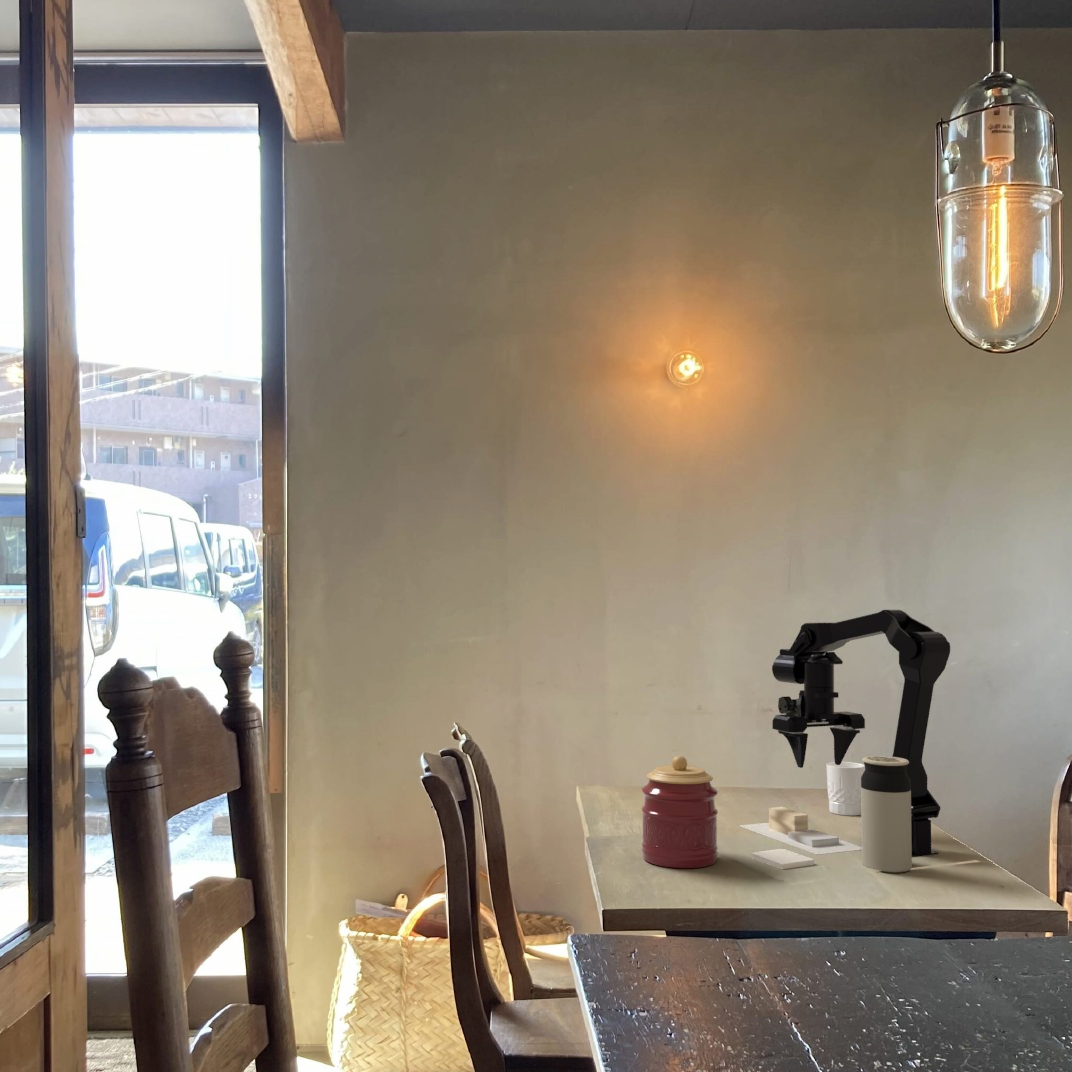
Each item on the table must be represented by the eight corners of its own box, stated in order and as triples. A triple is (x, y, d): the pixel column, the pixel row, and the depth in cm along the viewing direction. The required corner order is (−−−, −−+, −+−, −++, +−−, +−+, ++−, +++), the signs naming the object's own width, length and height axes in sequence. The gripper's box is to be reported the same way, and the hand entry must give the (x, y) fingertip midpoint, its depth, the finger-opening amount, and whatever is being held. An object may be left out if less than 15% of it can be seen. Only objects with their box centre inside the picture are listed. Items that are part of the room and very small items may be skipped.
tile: (782, 858, 180) (814, 869, 173) (750, 862, 177) (781, 874, 170) (782, 848, 180) (814, 859, 173) (750, 852, 177) (781, 864, 170)
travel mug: (879, 875, 168) (878, 763, 169) (852, 863, 176) (851, 756, 177) (922, 872, 170) (920, 762, 171) (893, 860, 178) (891, 754, 179)
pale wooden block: (839, 844, 187) (838, 821, 187) (812, 847, 185) (811, 824, 185) (788, 826, 201) (788, 806, 201) (762, 829, 199) (762, 808, 199)
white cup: (861, 809, 220) (860, 761, 221) (869, 817, 212) (868, 768, 213) (823, 808, 221) (823, 761, 222) (830, 816, 213) (830, 767, 214)
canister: (721, 853, 181) (721, 752, 182) (713, 872, 169) (713, 763, 170) (648, 848, 185) (648, 748, 186) (635, 866, 172) (635, 759, 173)
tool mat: (867, 851, 184) (867, 848, 184) (817, 856, 180) (817, 854, 180) (784, 823, 206) (784, 821, 206) (738, 827, 202) (738, 825, 202)
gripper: (828, 681, 214) (829, 757, 214) (755, 683, 207) (755, 762, 206) (866, 686, 204) (867, 765, 203) (790, 689, 197) (790, 771, 196)
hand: (819, 766), depth 202 cm, fingers open, 9 cm apart
